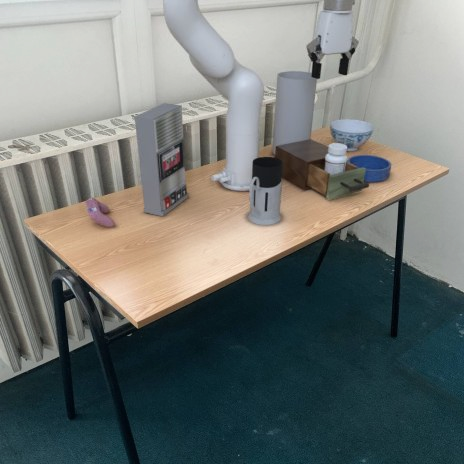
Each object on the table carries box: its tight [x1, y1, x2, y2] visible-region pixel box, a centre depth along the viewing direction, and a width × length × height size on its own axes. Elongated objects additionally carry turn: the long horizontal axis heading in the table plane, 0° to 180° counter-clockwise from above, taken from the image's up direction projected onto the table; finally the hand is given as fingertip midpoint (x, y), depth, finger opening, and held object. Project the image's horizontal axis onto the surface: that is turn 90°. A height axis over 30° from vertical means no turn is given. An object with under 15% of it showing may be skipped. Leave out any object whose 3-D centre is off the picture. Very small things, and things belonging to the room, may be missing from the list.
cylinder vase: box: [272, 70, 318, 156], centre depth 160 cm, size 12×12×25 cm
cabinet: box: [274, 138, 329, 191], centre depth 148 cm, size 16×14×9 cm
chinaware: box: [329, 119, 375, 152], centre depth 171 cm, size 15×15×8 cm
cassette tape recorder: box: [134, 102, 189, 217], centre depth 126 cm, size 14×6×25 cm, turn 155°
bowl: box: [347, 154, 393, 183], centre depth 152 cm, size 13×13×4 cm
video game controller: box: [84, 197, 115, 228], centre depth 124 cm, size 10×5×7 cm, turn 21°
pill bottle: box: [324, 142, 348, 175], centre depth 138 cm, size 6×6×11 cm
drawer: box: [307, 161, 370, 201], centre depth 139 cm, size 20×12×7 cm, turn 31°
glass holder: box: [247, 156, 283, 226], centre depth 122 cm, size 9×14×15 cm, turn 154°
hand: (329, 76), depth 137 cm, fingers open, 9 cm apart
